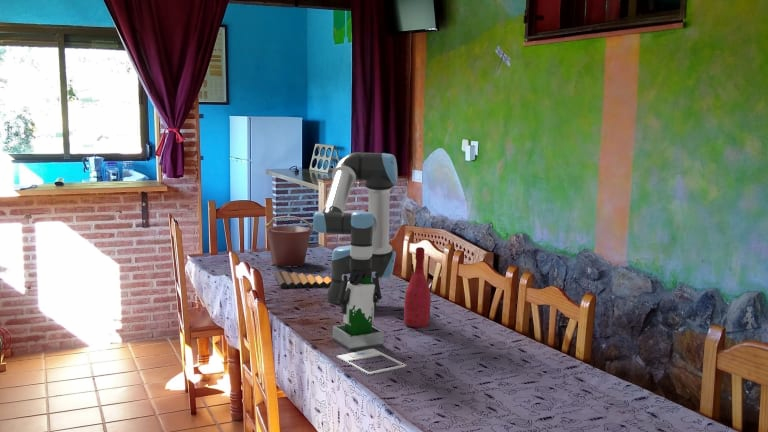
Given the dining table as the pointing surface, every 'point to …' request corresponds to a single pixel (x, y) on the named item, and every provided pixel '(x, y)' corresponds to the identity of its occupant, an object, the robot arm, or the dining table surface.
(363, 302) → the soya milk
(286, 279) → the pan flute
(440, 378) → the dining table surface
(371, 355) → the photo frame
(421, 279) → the wine bottle
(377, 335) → the collar
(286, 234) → the bucket
